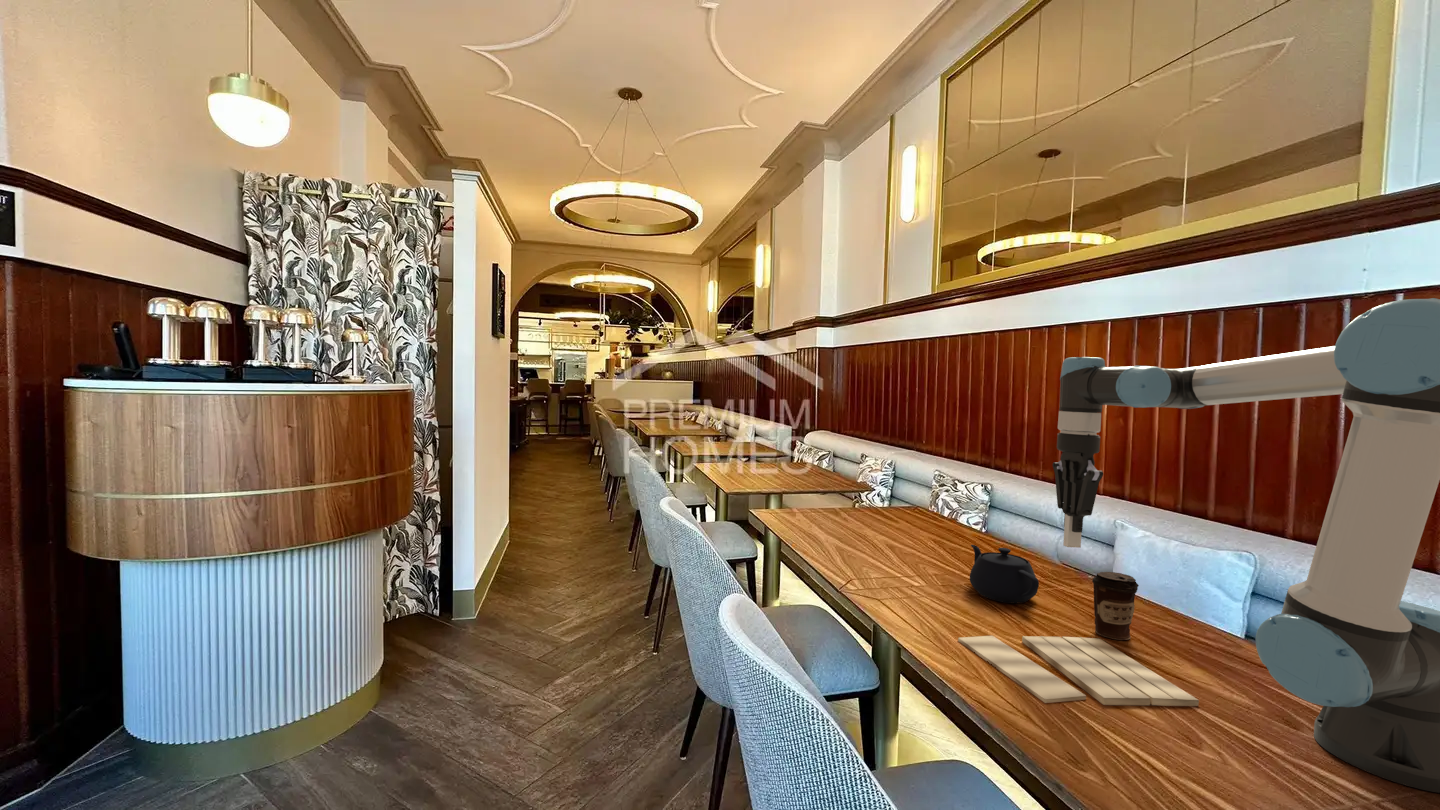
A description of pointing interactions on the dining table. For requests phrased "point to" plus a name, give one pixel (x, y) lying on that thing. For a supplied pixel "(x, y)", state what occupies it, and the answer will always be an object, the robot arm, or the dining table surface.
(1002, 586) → the teapot
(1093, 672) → the laid board
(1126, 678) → the plank
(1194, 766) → the dining table surface
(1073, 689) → the plank
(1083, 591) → the dining table surface
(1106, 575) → the coffee cup
